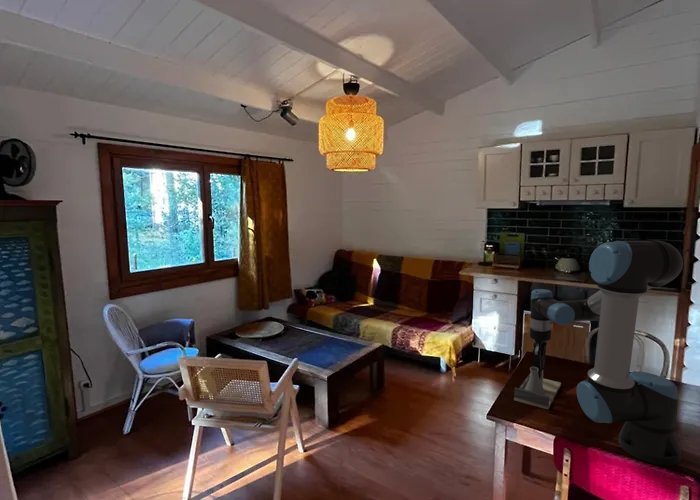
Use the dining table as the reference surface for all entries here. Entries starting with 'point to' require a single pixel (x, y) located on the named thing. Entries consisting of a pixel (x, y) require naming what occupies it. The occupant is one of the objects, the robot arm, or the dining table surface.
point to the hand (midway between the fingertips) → (538, 385)
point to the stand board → (536, 398)
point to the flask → (534, 382)
